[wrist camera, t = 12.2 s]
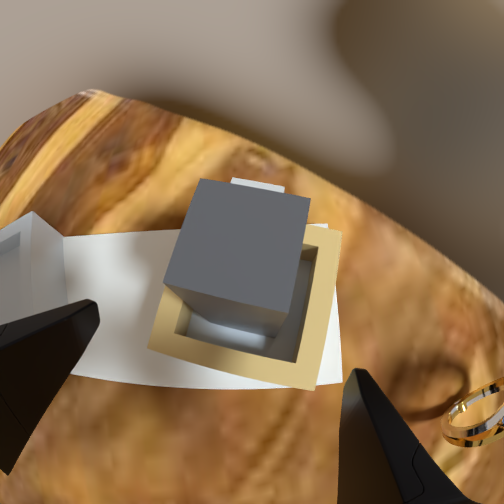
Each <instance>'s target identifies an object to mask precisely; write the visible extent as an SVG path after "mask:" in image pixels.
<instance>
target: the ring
mask: <svg viewBox="0 0 504 504" xmlns="http://www.w3.org/2000/svg"><path fill="white" fill-rule="evenodd" d="M503 390H504V377H502V378H499V379H497V380H495V381H493V382H490V383H488V384H486V385H484V386H482V387H480V388H478V389H477V390H475V391H473V392H471V393H469V394H468V395H466V396H465V397H463V398H460V399H458V400H456V401H455V402H453V405H452V406H451V407H449V408H448V409H447V410H446V411H445V413H444V414H443V416H442V418H441V429H442V434H443V437H444V438H445V439H446V440H447V441H448V442H449V443H451V444H453V445H456V446H460V447H477V446H482V445H486V444H489V443H492V442H494V441H496V440H499V439H500V438H502V437H504V403H503V404H502V405H501V406H500V408H499V409H498V410H497V411H496V412H495V413H494V414H493V415H491V416H490V417H489V418H487V419H486V420H484V421H482V422H480V423H478V424H475V425H472V426H468V427H454V426H452V425H450V424H451V422H452V420H453V419H454V417H455V416H456V415H457V414H458V413H462V412H463V411H465V410H466V409H467V407H468V406H469V405H471V404H472V403H474V402H476V401H478V400H479V399H481V398H483V397H486V396H488V395H490V394H493V393H496V392H499V391H503ZM497 422H498V423H497ZM496 423H497V426H496V427H494V428H493V429H491V430H488V429H489V428H491V427H492V426H494V425H495V424H496ZM486 430H488V431H486ZM484 431H486V432H484ZM482 432H483V433H482Z"/></svg>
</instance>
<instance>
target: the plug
mask: <svg viewBox="0 0 504 504" xmlns="http://www.w3.org/2000/svg"><path fill="white" fill-rule="evenodd" d="M284 188H285V187H282V186H277V185H272V184H267V183H261V182H256V181H250V180H245V179H239V178H233V177H232V180H231V183H226V182H220V181H214V180H208V179H201V178H200V181H199V183H198V186H197V188H196V191H195V193H194V196H193V198H192V201H191V204H190V206H189V209H188V211H187V214H186V217H185V219H184V222H183V225H182V228H181V230H180V233H179V236H178V239H177V241H176V244H175V247H174V250H173V253H172V256H171V259H170V261H169V264H168V267H167V270H166V273H165V276H164V279H163V283H164V284H165V285H166V286H167V287H168V288H169V289H171V290H172V291H173V292H174V293H175V294H176V295H177V296H179V297H180V298H181V299H182V300H183V301H184V302H186V303H187V304H188V305H189V306H190V307H192V308H193V309H194V310H195V311H196V312H198V313H199V314H200V315H201V316H202V317H204V318H205V319H206V320H207V321H208V322H210V323H213V324H217V325H220V326H224V327H228V328H232V329H236V330H240V331H245V332H249V333H253V334H257V335H262V336H266V337H271V338H276V336H277V334H278V332H279V330H280V328H281V326H282V325H283V323H284V321H285V319H286V317H287V315H288V313H289V309H290V304H291V299H292V295H293V290H294V285H295V280H296V275H297V270H298V265H299V260H300V255H301V250H302V245H303V239H304V234H305V229H306V223H307V217H308V212H309V206H310V200H311V199H310V198H306V197H301V196H296V195H291V194H286V193H284Z"/></svg>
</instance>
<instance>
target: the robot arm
mask: <svg viewBox="0 0 504 504" xmlns="http://www.w3.org/2000/svg"><path fill="white" fill-rule="evenodd" d="M99 325H100V315H99V309H98V304H97V302H95V301H93V300H90V299H84V300H81V301H77V302H74V303H71V304H68V305H64V306H61V307H58V308H54V309H51V310H48V311H45V312H41V313H38V314H35V315H32V316H28V317H25V318H22V319H19V320H15V321H12V322H9V323H5V324H2V325H0V469H1V470H2V471H3V472H4V473H5V474H7V475H9V474H10V472H11V471H12V469H13V467H14V465H15V463H16V461H17V459H18V458H19V456H20V454H21V452H22V450H23V449H24V447H25V445H26V443H27V442H28V440H29V438H30V436H31V434H32V433H33V431H34V429H35V428H36V426H37V424H38V423H39V421H40V419H41V418H42V416H43V415H44V413H45V411H46V410H47V408H48V407H49V405H50V403H51V402H52V400H53V399H54V397H55V396H56V394H57V392H58V391H59V389H60V388H61V386H62V385H63V383H64V382H65V380H66V379H67V377H68V376H69V374H70V373H71V371H72V370H73V369H74V367H75V366H76V364H77V363H78V361H79V360H80V358H81V357H82V355H83V353H84V352H85V350H86V348H87V346H88V345H89V343H90V341H91V339H92V337H93V336H94V334H95V332H96V330H97V329H98V327H99ZM337 504H481V503H477V502H474V501H472V500H470V499H469V498H467V497H466V496H465V495H464V494H463V493H462V492H461V491H460V490H459V489H458V488H457V487H456V486H455V485H454V483H453V482H452V481H451V480H450V479H449V478H448V477H447V476H446V475H445V473H444V472H443V471H442V470H441V469H440V468H439V466H438V465H437V464H436V463H435V462H434V460H433V459H432V458H431V457H430V455H429V454H428V453H427V451H426V450H425V448H424V447H423V446H422V444H421V443H419V440H418V439H417V438H416V436H415V435H414V433H413V432H412V431H411V429H410V428H409V426H408V425H407V424H406V422H405V421H404V420H403V418H402V417H401V416H400V414H399V413H398V411H397V410H396V409H395V407H394V406H393V405H392V403H391V402H390V401H389V399H388V398H387V397H386V395H385V394H384V392H383V391H382V390H381V388H380V387H379V386H378V384H377V383H376V382H375V380H374V379H373V378H372V376H371V375H370V374H369V372H368V371H367V370H366V369H360V368H354V369H353V370H352V372H351V374H350V376H349V378H348V380H347V382H346V383H345V386H344V390H343V399H342V409H341V418H340V427H339V474H338V497H337Z"/></svg>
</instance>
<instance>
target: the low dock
mask: <svg viewBox="0 0 504 504" xmlns="http://www.w3.org/2000/svg"><path fill="white" fill-rule="evenodd" d="M341 239H342V231H337V230H333V229H328V228H323V227H319V226H314V225H310V224H306V229H305V234H304V239H303V245H302V250H301V255H300V260H299V265H298V270H297V275H296V280H295V285H294V290H293V295H292V299H291V304H290V309H289V313H288V315H287V317H286V319H285V321H284V323H283V325H282V326H281V328H280V330H279V332H278V334H277V336H276V338H271V337H266V336H262V335H257V334H253V333H249V332H245V331H240V330H236V329H232V328H228V327H224V326H220V325H217V324H213V323H210V322H208V321H207V320H206V319H205V318H204V317H202V316H201V315H200V314H199V313H198V312H196V311H195V310H194V309H193V308H192V307H190V306H189V305H188V304H187V303H186V302H184V301H183V300H182V299H181V298H180V297H179V296H177V295H176V294H175V293H174V292H173V291H172V290H171V289H169V288H168V287H167V286H166V285H165V288H164V291H163V294H162V298H161V301H160V304H159V308H158V311H157V314H156V318H155V321H154V324H153V328H152V331H151V335H150V339H149V342H148V346H147V349H150V350H153V351H156V352H159V353H162V354H165V355H168V356H171V357H174V358H177V359H181V360H184V361H187V362H190V363H194V364H197V365H201V366H204V367H208V368H211V369H215V370H218V371H222V372H226V373H230V374H234V375H238V376H242V377H246V378H251V379H255V380H259V381H264V382H269V383H273V384H278V385H283V386H288V387H294V388H299V389H305V390H311V391H315V387H316V382H317V378H318V374H319V369H320V365H321V360H322V355H323V350H324V345H325V340H326V335H327V330H328V325H329V319H330V314H331V308H332V302H333V296H334V290H335V283H336V277H337V270H338V263H339V255H340V247H341Z"/></svg>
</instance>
